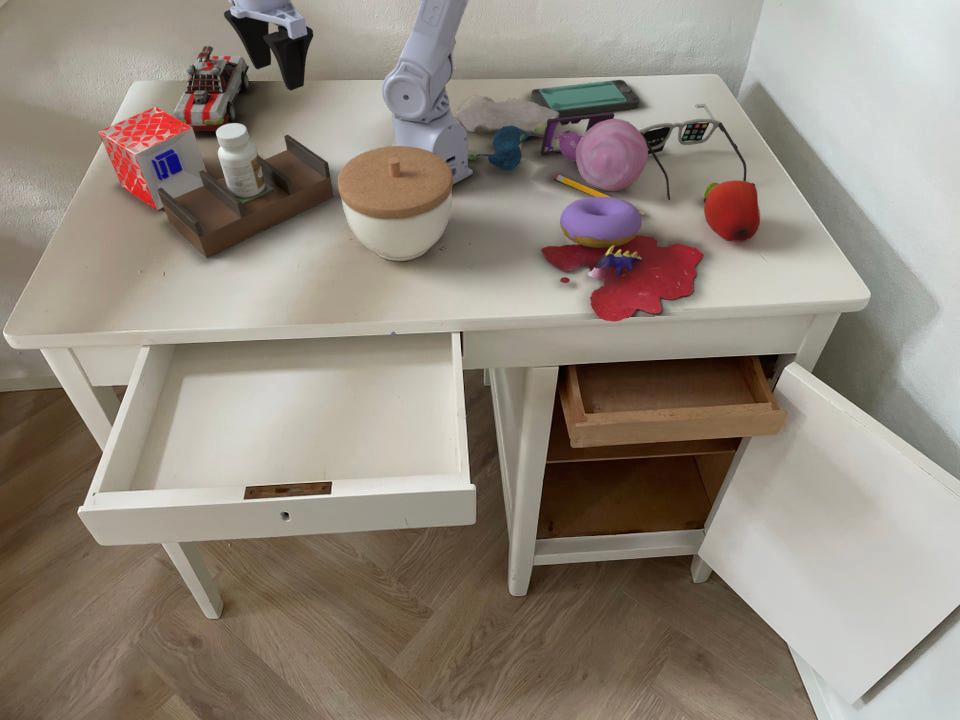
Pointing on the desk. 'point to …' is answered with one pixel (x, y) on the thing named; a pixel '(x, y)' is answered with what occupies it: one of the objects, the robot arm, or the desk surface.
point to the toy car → (212, 90)
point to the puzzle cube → (154, 155)
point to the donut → (600, 222)
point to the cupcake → (611, 155)
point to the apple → (732, 209)
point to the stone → (503, 115)
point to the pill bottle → (239, 161)
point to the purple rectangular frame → (569, 133)
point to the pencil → (582, 187)
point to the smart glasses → (684, 137)
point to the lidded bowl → (397, 200)
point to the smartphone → (587, 98)
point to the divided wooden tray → (250, 200)
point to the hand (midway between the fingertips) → (278, 76)
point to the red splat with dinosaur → (630, 274)
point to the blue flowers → (508, 146)
